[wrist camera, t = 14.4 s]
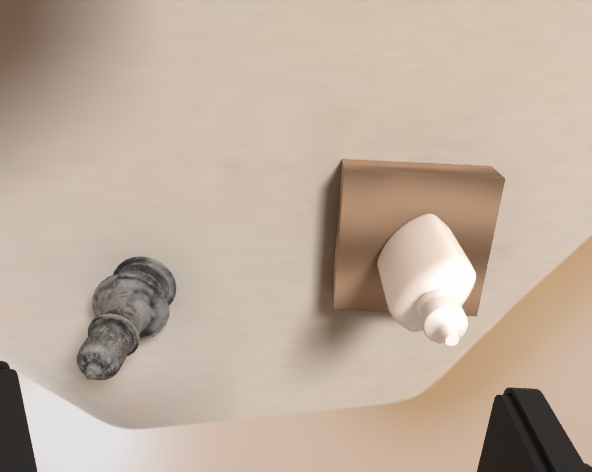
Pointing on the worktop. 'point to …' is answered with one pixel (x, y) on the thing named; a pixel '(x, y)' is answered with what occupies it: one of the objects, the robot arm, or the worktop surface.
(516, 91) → the worktop surface
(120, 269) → the salt shaker
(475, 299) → the walnut stand
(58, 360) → the worktop surface
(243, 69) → the worktop surface
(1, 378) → the robot arm
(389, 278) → the eye dropper bottle
